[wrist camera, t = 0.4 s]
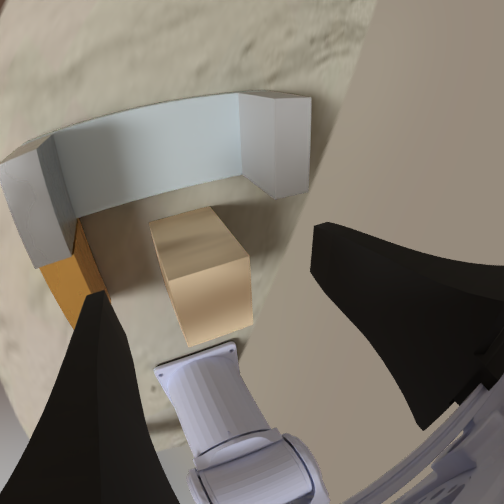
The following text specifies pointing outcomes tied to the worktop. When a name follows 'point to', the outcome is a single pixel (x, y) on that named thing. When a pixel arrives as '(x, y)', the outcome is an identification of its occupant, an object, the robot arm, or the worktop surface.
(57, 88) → the worktop surface
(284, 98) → the vise
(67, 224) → the free jaw
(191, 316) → the block
